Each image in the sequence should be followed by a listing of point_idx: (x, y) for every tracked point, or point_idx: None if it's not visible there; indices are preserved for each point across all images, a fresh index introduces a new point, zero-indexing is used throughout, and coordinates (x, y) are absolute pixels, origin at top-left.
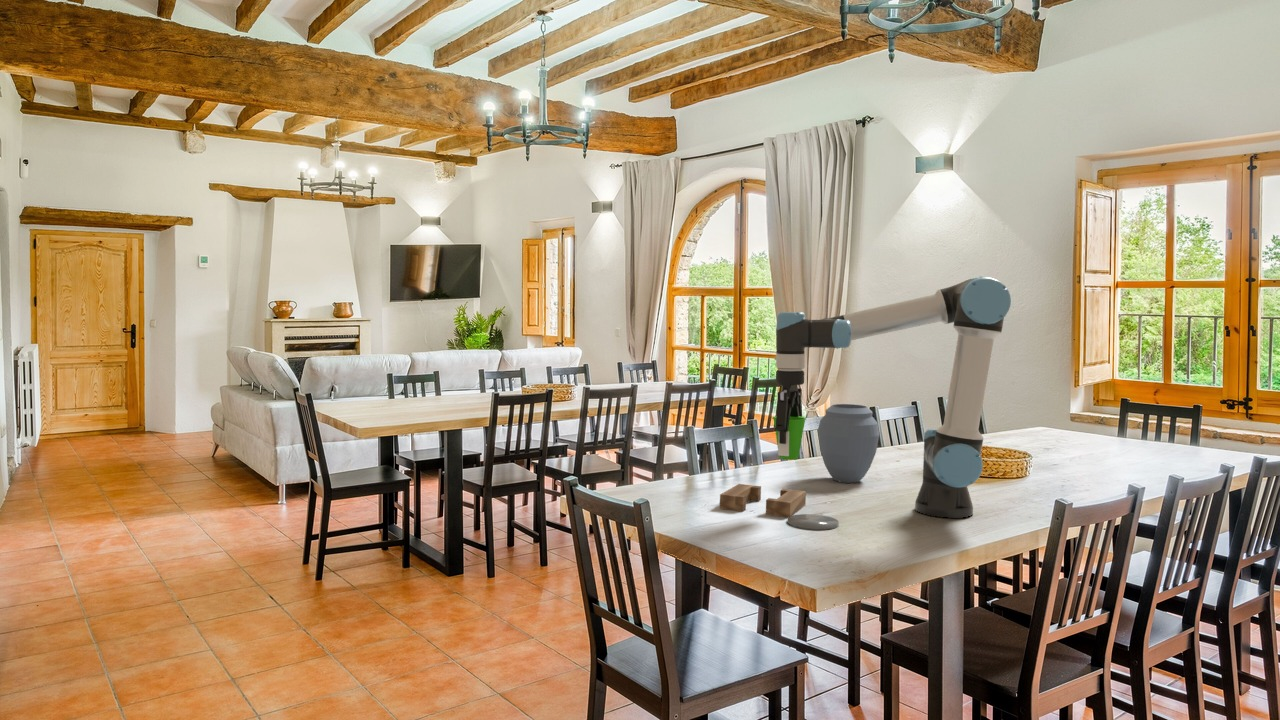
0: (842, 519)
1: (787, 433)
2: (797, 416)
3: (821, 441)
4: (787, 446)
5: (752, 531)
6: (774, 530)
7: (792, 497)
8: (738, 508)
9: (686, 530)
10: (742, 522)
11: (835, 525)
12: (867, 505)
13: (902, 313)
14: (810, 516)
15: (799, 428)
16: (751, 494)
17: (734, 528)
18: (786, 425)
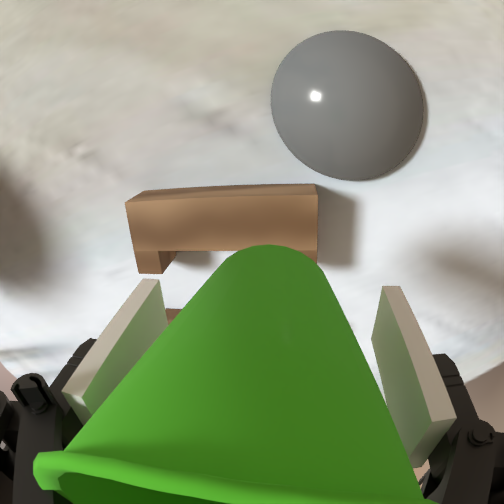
0: (248, 40)
1: (448, 409)
2: (56, 495)
3: None
4: (417, 329)
5: (482, 233)
6: (461, 187)
7: (235, 211)
8: None
9: (493, 341)
10: (417, 279)
11: (367, 35)
12: (61, 57)
13: None
14: (305, 122)
15: (344, 396)
16: None
17: (469, 276)
18: (489, 471)
